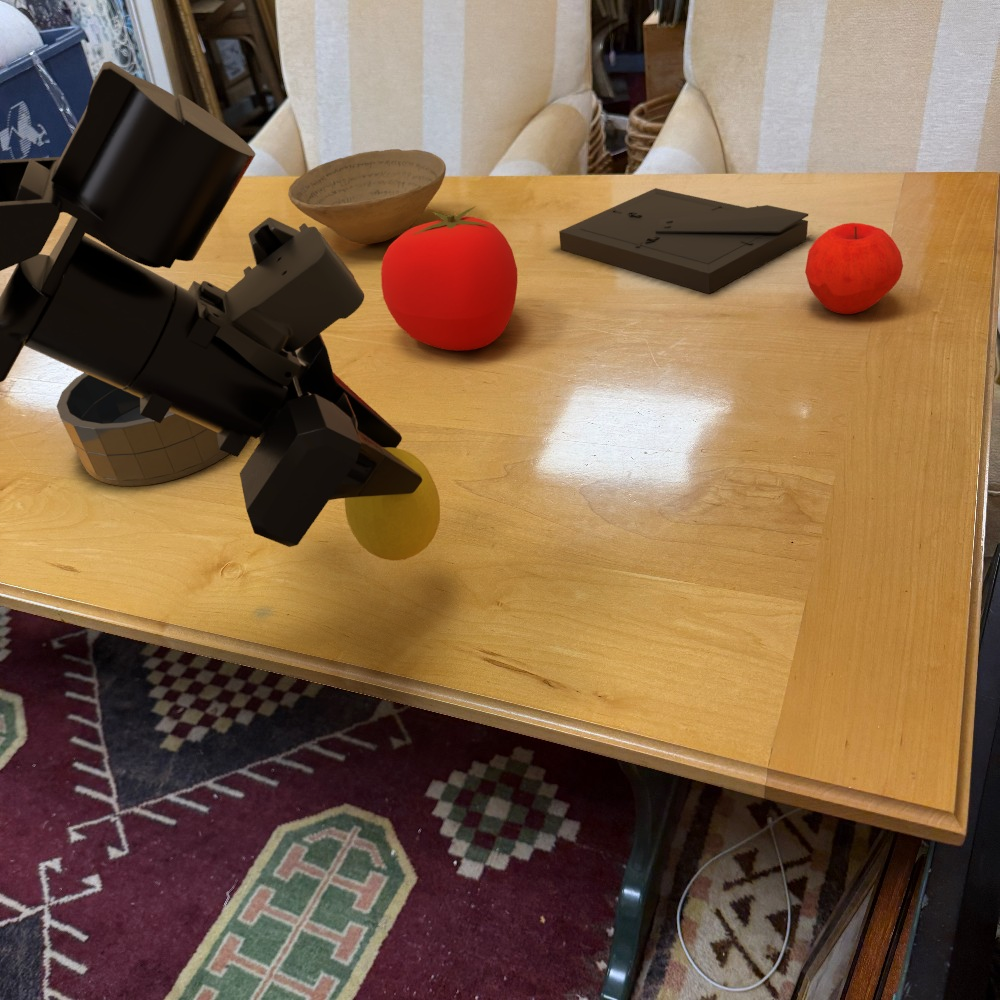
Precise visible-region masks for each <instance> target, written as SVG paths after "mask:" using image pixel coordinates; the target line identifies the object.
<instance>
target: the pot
mask: <svg viewBox="0 0 1000 1000" xmlns="http://www.w3.org/2000/svg"><path fill="white" fill-rule="evenodd" d="M56 409H57V412H58V415H59V418H60V419H61V422H62V425H63V426H64V428H65V430H66V432H67V434H68V437H69V439H70V441H71V443H72V445H73V447H74V449H75V451H76V453H77V455H78V457H79V459H80V461H81V464H82V466H83V468H85V470H86V472H87V473H88V475H90V476H91V477H92V478H93V479H95V480H97V481H99V482H101V483H105V484H108V485H114V486H117V487H118V486H119V487H140V486H151V485H156V484H157V485H158V484H161V483H166V482H171V481H174V480H177V479H178V480H179V479H181V478H183V477H187V476H189V475H192V474H194V473H197V472H200V471H201V470H204V469H206V468H208V467H210V466H212V465H214V464H216V463H218V462H219V461H221V460H222V459H224V458H225V457H227V456H228V455H230V454H229V453H227V452H224V451H222V450H220V449H219V444H218V438H217V432H215V431H213V430H211V429H209V428H206V427H204V426H202V425H200V424H197V423H195V422H193V421H191V420H189V419H186V418H184V417H182V416H180V415H177V414H175V413H173V412H171V411H168V412H167V413H166V415H165V417H164V418H163V420H162V422H161V423H158V422H156V421H154V420H152V419H149V418H147V417H145V416H142V415H140V397H137V396H135V395H133V394H131V393H128V392H126V391H124V390H122V389H119V388H117V387H115V386H113V385H111V384H108V383H106V382H104V381H102V380H99V379H97V378H95V377H93V376H91V375H88V374H86V373H84V372H82V373H81V374H80V375H79V376H77V377H75V378H74V379H73V380H72V381H71V382H70V383H69V384H68V385H67V386H66V387H64V389H63V391H61V394H60V396H59V399H58V401H57V403H56Z"/></svg>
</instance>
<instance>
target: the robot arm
mask: <svg viewBox="0 0 1000 1000" xmlns="http://www.w3.org/2000/svg"><path fill="white" fill-rule="evenodd" d="M256 155H257V154H256V152H255V151H254V149H253V148H252V146H250V145H249V144H248V143H247V142H246V141H245V140H244V139H243V138H241V136H239V135H238V134H237V133H236V132H235V131H234V130H232V129H231V128H229V127H228V126H227V125H226V124H225V123H223V122H222V121H221V120H219V119H218V118H217V117H215V116H214V115H213V114H211V113H209V111H207V110H205V109H204V108H202V107H201V106H199V105H198V104H197V103H195V102H194V101H192V100H190V99H189V98H187V97H186V96H184V95H183V94H181V93H179V94H178V95H177V96H176V95H174V94H172V93H171V92H169V91H167V90H165V89H164V88H163V87H160V86H158V85H157V84H155V83H152V82H150V81H148V80H146V79H144V78H142V77H139V76H135V75H133V74H131V72H128V71H127V70H125V69H123V68H122V67H121V66H119V65H118V64H116V63H114V62H113V61H104V62H103V63H102V65H101V67H100V69H99V71H98V73H97V75H96V76H95V78H94V81H93V82H92V85H91V87H90V91H89V95H88V101H87V105H86V107H85V110H84V111H83V113H82V116H81V117H80V119H79V121H78V123H77V125H76V127H75V129H74V131H73V133H72V135H71V136H70V138H69V140H68V142H67V143H66V146H65V148H64V150H63V152H62V154H61V156H54V157H35V158H33V157H32V158H31V157H30V158H14V159H0V272H1V271H3V270H4V271H5V270H6V269H8V268H11V267H14V266H15V268H14V269H13V271H12V274H11V276H10V277H9V279H8V281H7V283H6V285H5V287H4V289H3V290H2V293H1V294H0V383H2V382H4V381H5V380H6V379H7V378H8V376H9V374H10V372H11V370H12V369H13V367H14V365H15V363H16V361H17V359H18V357H19V355H20V353H21V352H22V350H23V348H24V347H26V348H28V349H31V350H33V351H35V352H37V353H40V354H42V355H44V356H46V357H49V358H50V359H53V360H55V361H57V362H60V363H61V364H64V365H66V366H67V367H70V368H73V369H75V370H78V371H79V372H82V373H86V374H88V375H91V376H93V377H95V378H97V379H99V380H102V381H104V382H106V383H108V384H111V385H113V386H115V387H117V388H119V389H122V390H124V391H126V392H128V393H131V394H133V395H135V396H137V397H140V415H142V416H145V417H147V418H149V419H152V420H154V421H156V422H158V423H161V422H162V420H163V418H164V417H165V415H166V413H167V412H168V411H171V412H173V413H175V414H177V415H180V416H182V417H184V418H186V419H189V420H191V421H193V422H195V423H197V424H200V425H202V426H204V427H206V428H209V429H211V430H213V431H215V432H217V438H218V444H219V449H220V450H222V451H224V452H227V453H229V455H232V456H233V457H236V458H238V457H239V456H240V454H241V452H242V451H243V449H244V448H245V447H246V445H247V443H248V442H249V440H250V439H251V438H252V439H255V440H257V439H259V440H258V441H259V442H258V444H257V446H256V448H255V449H254V450H253V452H252V453H251V454H250V457H249V458H248V460H247V461H246V463H245V464H244V465H243V467H242V469H240V472H239V477H240V482H241V489H242V493H243V499H244V503H245V505H244V506H245V509H246V513H247V515H248V519H249V522H250V525H251V528H252V531H253V533H254V534H255V535H257V536H260V537H263V538H265V539H268V540H270V541H273V542H275V543H277V544H280V545H283V546H285V547H288V548H292V547H295V546H296V547H297V546H298V545H299V544H300V542H301V541H302V539H303V538H304V536H305V535H306V534H307V532H308V531H309V529H310V528H311V527H312V525H313V524H314V523H315V521H316V520H317V518H318V517H319V515H320V514H321V512H322V511H323V510H324V509H325V506H326V505H327V504H328V502H329V501H333V500H339V499H340V500H341V499H345V498H352V497H365V496H381V495H397V494H411V493H413V492H415V491H416V489H417V488H418V486H419V485H420V484H421V482H422V477H421V475H420V474H419V473H417V472H416V471H415V470H413V469H412V468H411V467H409V466H408V465H407V464H405V463H404V462H403V461H401V460H400V459H399V458H397V457H396V456H394V455H393V454H391V453H390V452H389V451H387V450H386V449H384V448H386V447H390V448H398V446H399V445H400V443H401V442H402V441H403V437H402V435H401V433H400V432H399V431H398V430H397V429H396V428H395V427H393V426H392V425H391V424H390V423H389V422H388V421H387V420H386V419H385V418H384V417H382V416H381V414H379V413H378V412H377V411H376V410H374V409H373V407H371V406H370V405H369V404H368V403H367V402H366V401H365V400H364V399H363V398H361V396H359V395H358V394H357V393H356V392H355V391H354V390H352V389H351V388H350V387H349V386H348V385H347V384H346V383H345V382H344V381H343V380H342V379H341V378H340V377H339V376H338V375H336V374H335V372H334V371H333V368H332V363H331V360H330V359H331V358H330V356H329V351H328V348H327V345H326V344H325V341H324V339H323V336H322V335H321V333H323V332H324V331H325V330H327V329H328V328H329V327H331V326H332V325H333V324H335V323H336V322H337V321H339V320H342V319H343V320H345V319H348V318H349V317H350V316H351V315H353V314H354V313H355V312H357V310H358V309H359V308H360V307H361V306H362V305H363V302H364V300H365V293H364V290H362V288H361V287H360V285H359V284H358V281H357V280H356V277H355V275H354V274H353V273H352V271H351V270H350V269H349V267H348V266H347V265H346V263H345V262H344V261H343V260H342V258H341V257H340V256H339V255H338V253H337V252H336V251H335V250H334V248H333V247H332V245H330V243H329V242H328V241H327V239H326V238H325V237H324V236H323V234H322V233H321V232H320V230H319V229H318V228H317V227H316V226H308V225H307V224H306V223H302V224H301V225H300V226H299V227H298V229H299V230H298V229H296V228H294V227H292V226H290V225H288V224H286V223H283V222H281V221H279V220H277V219H274V218H273V217H267V218H266V219H265V220H263V221H262V222H261V223H259V224H258V225H257V226H256V227H254V228H253V229H252V230H250V231H249V232H248V238H249V242H250V246H251V251H252V254H253V259H254V262H255V266H253V267H251V266H250V265H248V266H247V267H245V268H244V269H243V270H242V271H243V275H244V276H243V277H242V278H241V279H240V280H239V281H238V282H237V283H235V284H234V285H233V286H232V287H231V288H229V289H228V291H226V290H225V289H222V288H220V287H218V286H217V285H214V284H213V283H210V282H209V281H206V280H202V282H201V283H198V282H197V281H195V280H193V282H192V283H191V285H190V286H189V288H188V289H186V288H184V287H183V286H180V285H179V284H176V282H175V283H174V282H172V281H171V280H168V279H166V278H165V277H163V276H161V275H159V274H157V273H156V272H154V271H152V270H150V269H148V268H146V267H149V268H153V269H154V268H155V269H160V268H162V267H163V268H166V269H171V268H172V266H173V264H174V263H175V261H183V262H192V261H193V260H194V259H195V258H196V257H197V254H198V253H199V252H200V250H201V248H202V246H203V245H204V243H205V242H206V239H207V237H208V236H209V234H210V233H211V231H212V229H213V228H214V226H215V224H216V223H217V221H218V220H219V218H220V215H221V214H222V212H223V211H224V209H225V207H226V205H227V204H228V202H229V200H231V197H232V196H233V194H234V192H235V190H236V189H237V187H238V185H239V184H240V182H241V181H242V179H243V177H244V175H245V174H246V172H247V170H248V168H249V166H250V165H251V164H252V162H253V160H254V159H255V157H256ZM61 213H65V214H67V215H70V216H71V217H70V219H69V221H68V222H67V225H66V226H65V228H64V230H63V231H62V233H61V235H60V237H59V238H58V240H57V242H56V243H55V245H54V247H53V248H52V250H51V252H50V254H49V255H48V254H42V253H41V252H42V251H43V249H44V247H45V245H46V243H47V241H48V239H49V238H50V236H51V234H52V232H53V231H54V228H55V227H56V225H57V223H58V221H59V219H60V216H61ZM86 235H88V236H90V237H92V238H94V239H95V240H98V241H99V242H100V243H99V242H97V241H95V240H94V239H92V238H90V237H88V236H86ZM101 243H102V244H101ZM144 266H145V267H144ZM383 447H384V448H383Z"/></svg>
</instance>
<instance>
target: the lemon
mask: <svg viewBox="0 0 1000 1000" xmlns="http://www.w3.org/2000/svg"><path fill="white" fill-rule="evenodd" d="M383 448H384V447H383ZM384 449H386V450H387V451H389V452H390V453H391V454H393V455H394V456H396V457H397V458H399V459H400V460H401V461H403V462H404V463H405V464H407V465H408V466H409V467H411V468H412V469H413V470H415V471H416V472H417V473H419V474H420V475H421V477H422V482H421V484H420V485H419V486H418V488H417V489H416V491H415V492H413V493H411V494H397V495H381V496H365V497H352V498H344V507H345V508H344V509H345V517H346V520H347V523H348V526H349V528H350V530H351V532H352V534H353V536H354V538H355V539H356V541H357V543H358V544H359V545H360V546H361V547H362V548H363V549H365V550H366V551H367V553H370V554H371V555H373V556H375V557H377V558H380V559H383V560H388V561H404V560H407V559H409V558H410V559H411V558H413V557H415V556H417V555H419V554H420V553H422V551H424V550H425V549H426V548H427V547H428V546H429V545H430V544H431V543H432V541H433V540H434V538H435V537H436V534H437V531H438V528H439V525H440V521H441V501H440V495H439V491H438V488H437V485H436V483H435V481H434V478H433V476H432V474H431V473H430V471H429V469H428V467H427V466H426V464H425V463H424V462H423V461H422V460H420V459H419V458H418V457H417V456H416V455H415V454H413V453H411V452H409V451H408V450H404V449H403V448H398V447H396V448H390V447H386V448H384Z"/></svg>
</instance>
